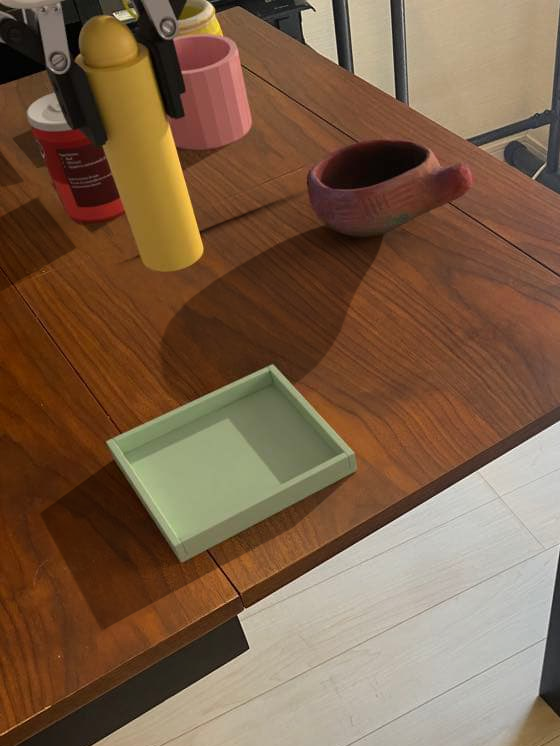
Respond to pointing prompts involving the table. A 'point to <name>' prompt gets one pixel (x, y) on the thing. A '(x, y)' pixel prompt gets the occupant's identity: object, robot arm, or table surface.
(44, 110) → the canned food
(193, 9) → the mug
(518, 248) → the table surface
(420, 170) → the bowl
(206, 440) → the tray
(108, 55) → the bottle
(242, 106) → the pot
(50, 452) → the table surface
